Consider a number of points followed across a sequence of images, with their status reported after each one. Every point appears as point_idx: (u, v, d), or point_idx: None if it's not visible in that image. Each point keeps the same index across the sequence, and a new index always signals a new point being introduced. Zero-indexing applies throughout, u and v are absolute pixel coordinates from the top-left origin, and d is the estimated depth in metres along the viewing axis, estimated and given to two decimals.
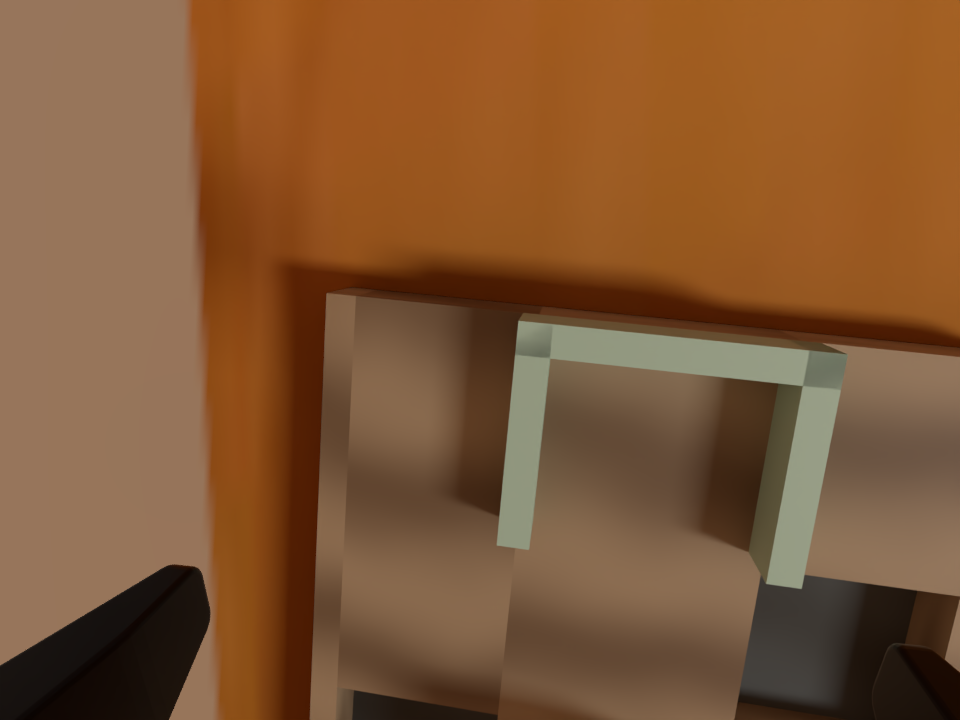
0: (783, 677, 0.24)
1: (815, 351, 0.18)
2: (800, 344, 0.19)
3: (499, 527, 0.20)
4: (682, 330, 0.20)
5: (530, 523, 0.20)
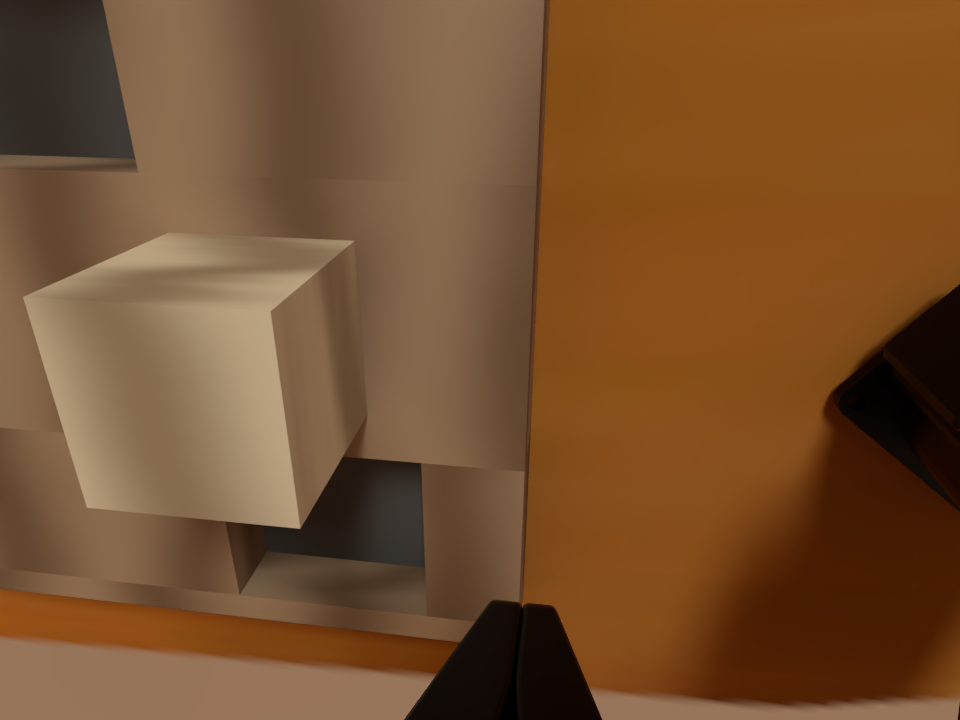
0: None
1: None
2: None
3: None
4: None
5: None
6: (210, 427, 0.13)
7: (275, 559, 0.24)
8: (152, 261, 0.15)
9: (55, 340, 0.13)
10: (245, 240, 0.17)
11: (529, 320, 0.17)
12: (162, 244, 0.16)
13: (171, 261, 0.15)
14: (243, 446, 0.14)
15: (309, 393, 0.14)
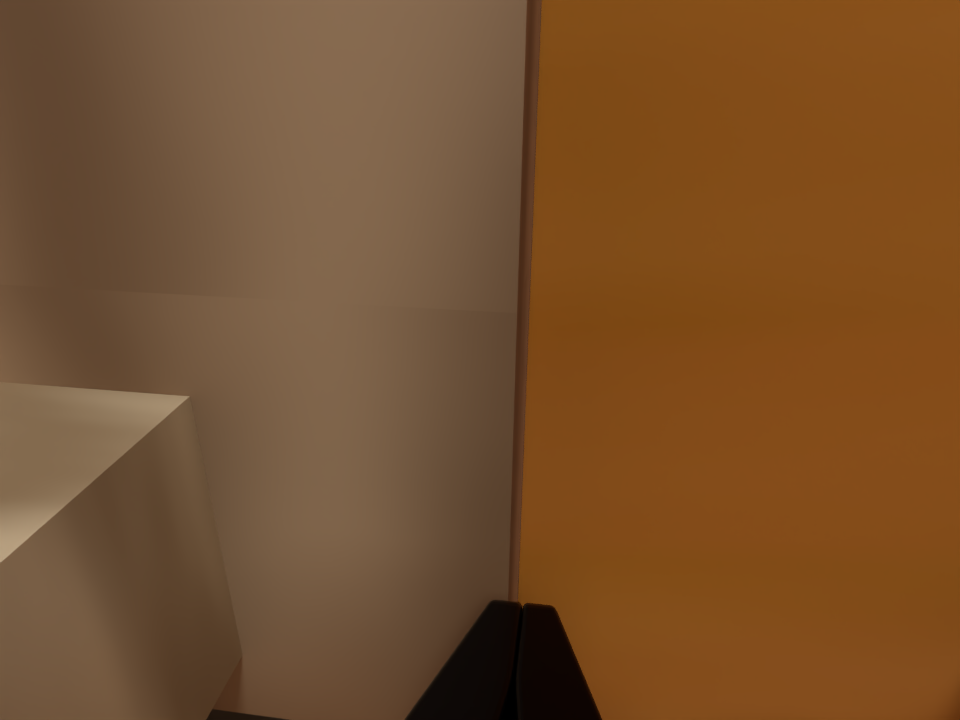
0: None
1: None
2: None
3: None
4: None
5: None
6: None
7: None
8: None
9: None
10: None
11: (507, 535, 0.09)
12: None
13: None
14: None
15: None
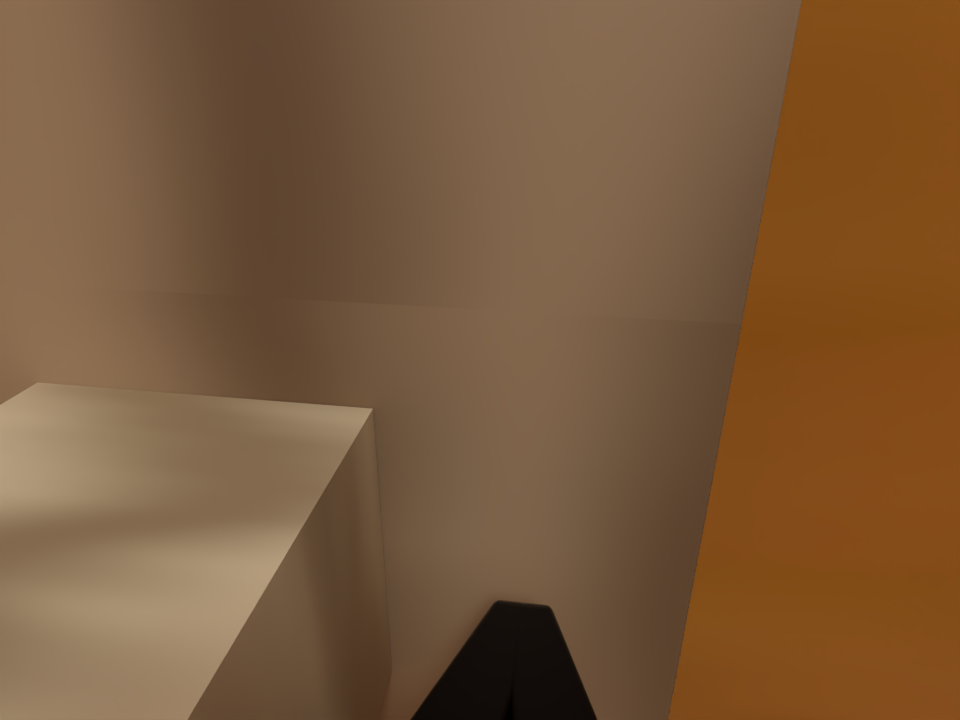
0: None
1: None
2: None
3: None
4: None
5: None
6: None
7: None
8: None
9: None
10: (171, 406, 0.09)
11: (696, 550, 0.09)
12: (8, 422, 0.09)
13: (0, 490, 0.07)
14: None
15: None
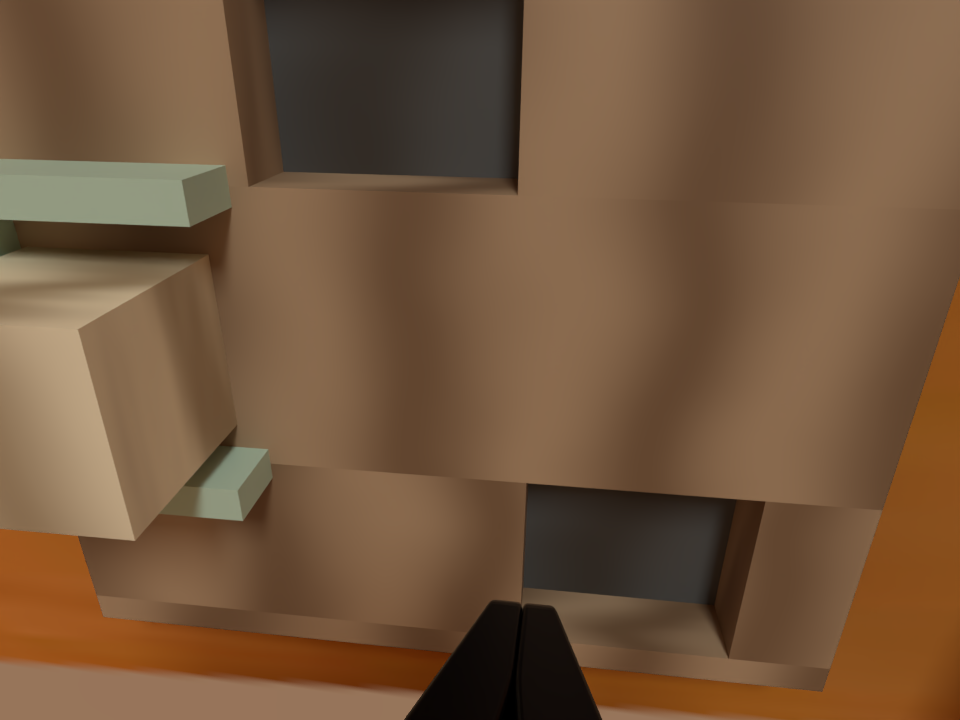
0: (474, 86, 0.16)
1: None
2: None
3: (220, 518, 0.18)
4: None
5: (206, 489, 0.18)
6: (36, 442, 0.14)
7: (536, 596, 0.23)
8: None
9: None
10: (100, 253, 0.17)
11: (932, 352, 0.16)
12: (13, 258, 0.16)
13: (11, 277, 0.15)
14: (69, 461, 0.14)
15: (142, 407, 0.14)
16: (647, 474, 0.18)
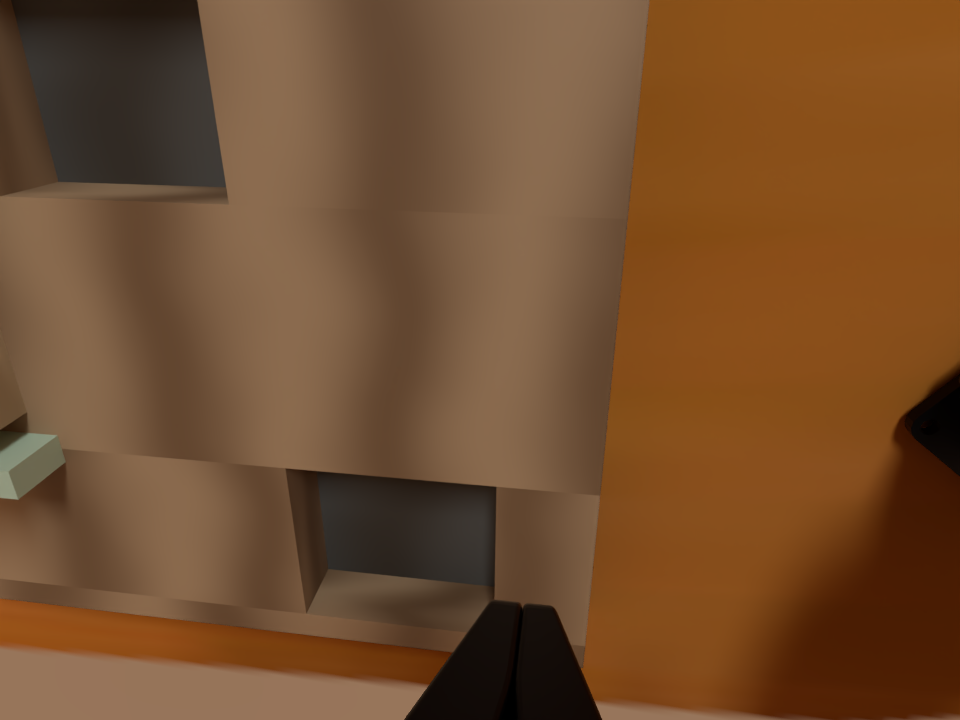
0: (210, 105, 0.18)
1: None
2: None
3: None
4: None
5: None
6: None
7: (337, 577, 0.24)
8: None
9: None
10: None
11: (613, 349, 0.17)
12: None
13: None
14: None
15: None
16: (388, 460, 0.20)
